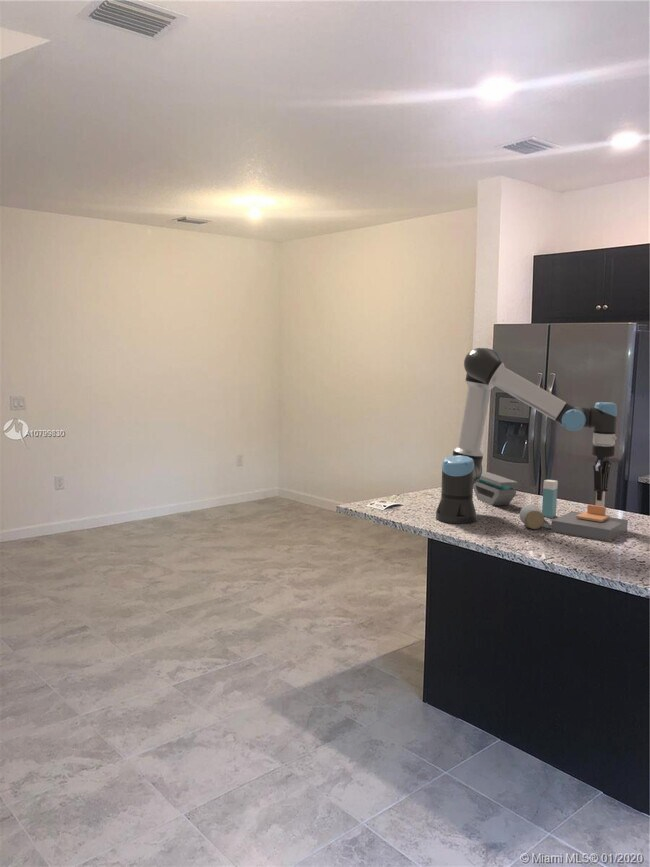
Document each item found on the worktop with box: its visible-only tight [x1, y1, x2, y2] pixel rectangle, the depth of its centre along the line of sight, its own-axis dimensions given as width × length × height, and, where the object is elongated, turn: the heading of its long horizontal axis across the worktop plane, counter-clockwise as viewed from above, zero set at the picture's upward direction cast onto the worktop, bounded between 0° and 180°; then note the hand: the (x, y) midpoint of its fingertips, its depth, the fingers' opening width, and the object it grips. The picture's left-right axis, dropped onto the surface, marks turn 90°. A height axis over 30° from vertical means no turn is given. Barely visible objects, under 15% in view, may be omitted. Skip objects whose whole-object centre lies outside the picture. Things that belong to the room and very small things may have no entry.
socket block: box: [550, 510, 629, 542], centre depth 248 cm, size 20×20×4 cm
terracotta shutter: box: [576, 504, 611, 522], centre depth 250 cm, size 9×9×4 cm
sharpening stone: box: [473, 471, 519, 506], centre depth 295 cm, size 25×8×11 cm, turn 16°
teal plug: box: [541, 479, 559, 519], centre depth 270 cm, size 4×4×14 cm
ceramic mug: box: [519, 504, 551, 530], centre depth 252 cm, size 11×8×8 cm
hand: (599, 508), depth 256 cm, fingers closed
